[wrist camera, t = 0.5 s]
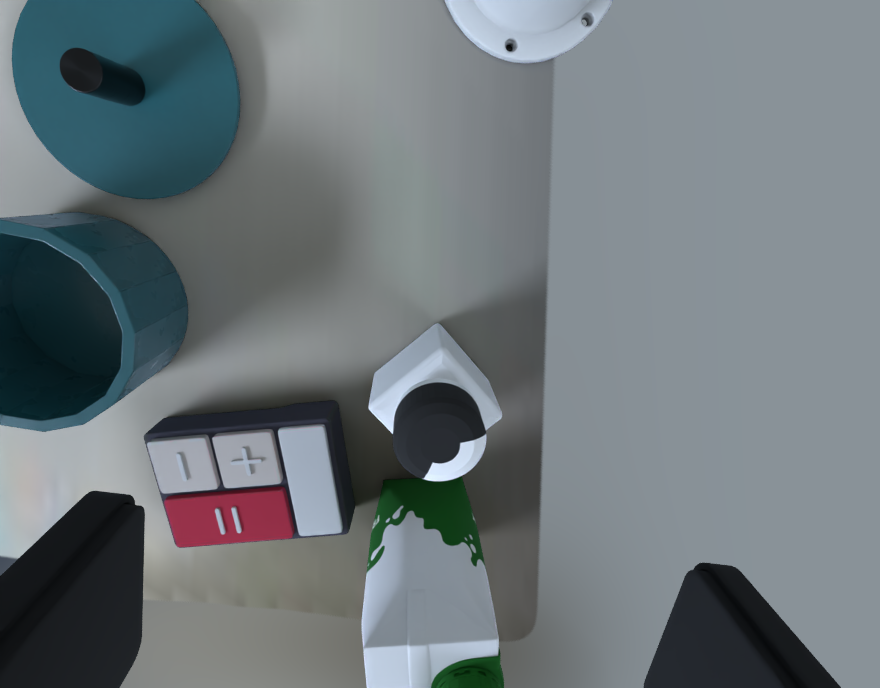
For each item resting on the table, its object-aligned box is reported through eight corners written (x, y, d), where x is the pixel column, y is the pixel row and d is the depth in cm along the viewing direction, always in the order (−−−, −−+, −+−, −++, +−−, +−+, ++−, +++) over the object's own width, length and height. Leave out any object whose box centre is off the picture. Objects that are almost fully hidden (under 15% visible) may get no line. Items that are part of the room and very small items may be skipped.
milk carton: (472, 546, 49) (513, 777, 30) (377, 552, 48) (357, 790, 29) (471, 465, 46) (515, 661, 27) (371, 471, 46) (344, 674, 27)
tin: (3, 194, 37) (-108, 197, 29) (195, 235, 39) (139, 247, 31) (7, 366, 41) (-91, 410, 33) (181, 396, 43) (129, 445, 35)
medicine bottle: (372, 373, 43) (359, 441, 32) (437, 320, 42) (448, 370, 30) (426, 430, 45) (432, 514, 33) (490, 381, 44) (519, 450, 32)
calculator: (136, 438, 39) (327, 421, 39) (164, 414, 44) (338, 399, 43) (171, 555, 43) (348, 540, 42) (194, 522, 47) (356, 509, 47)
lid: (22, -62, 33) (-65, -117, 27) (254, 0, 35) (222, -39, 29) (24, 173, 37) (-51, 170, 31) (232, 218, 39) (199, 223, 33)
